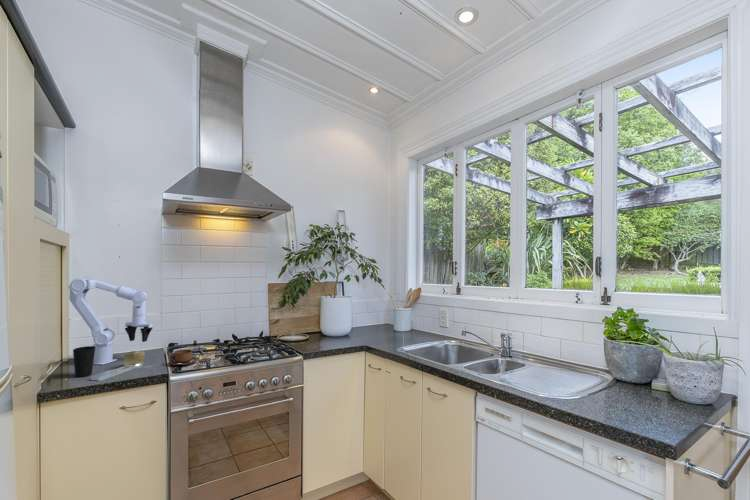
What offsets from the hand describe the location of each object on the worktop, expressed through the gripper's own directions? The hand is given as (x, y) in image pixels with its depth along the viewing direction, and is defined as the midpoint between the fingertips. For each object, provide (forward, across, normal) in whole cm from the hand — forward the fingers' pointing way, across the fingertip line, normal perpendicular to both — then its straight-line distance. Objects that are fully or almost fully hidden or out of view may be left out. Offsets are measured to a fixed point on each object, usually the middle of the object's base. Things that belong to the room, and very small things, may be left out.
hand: (138, 341), depth 177 cm
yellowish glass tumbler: (+8, -9, +11) cm, 16 cm away
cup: (+10, +2, +26) cm, 28 cm away
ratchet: (+10, -9, +19) cm, 23 cm away
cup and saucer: (+10, -28, +1) cm, 29 cm away
